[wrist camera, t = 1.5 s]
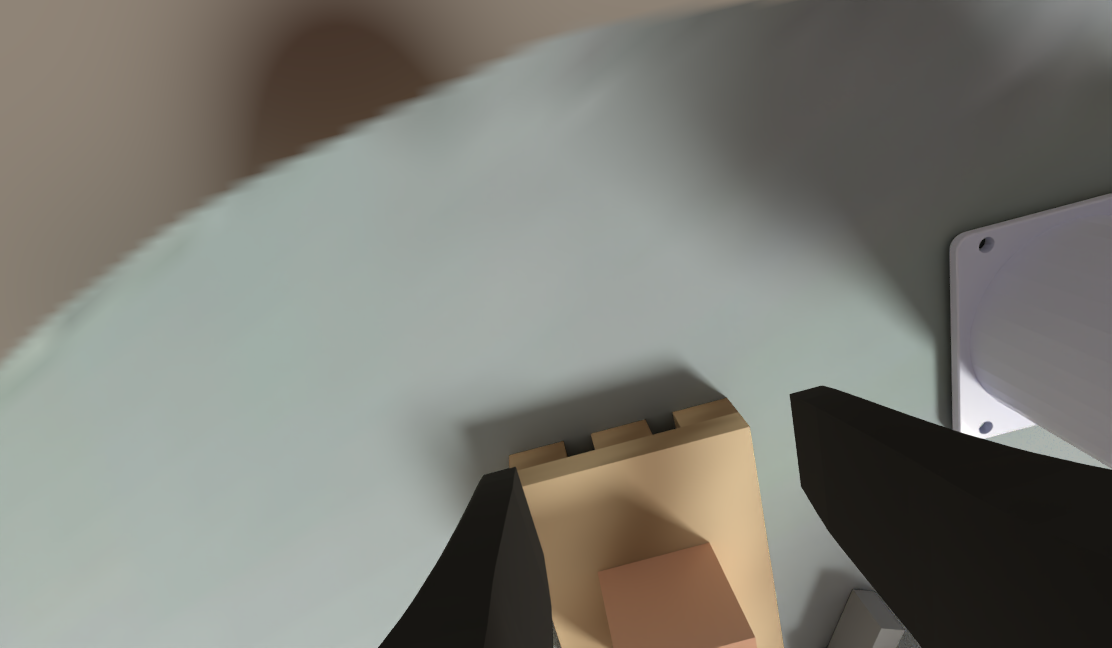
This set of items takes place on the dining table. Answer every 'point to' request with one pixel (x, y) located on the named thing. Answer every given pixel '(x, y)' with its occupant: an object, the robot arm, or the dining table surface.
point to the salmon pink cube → (674, 603)
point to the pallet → (650, 514)
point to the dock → (866, 624)
